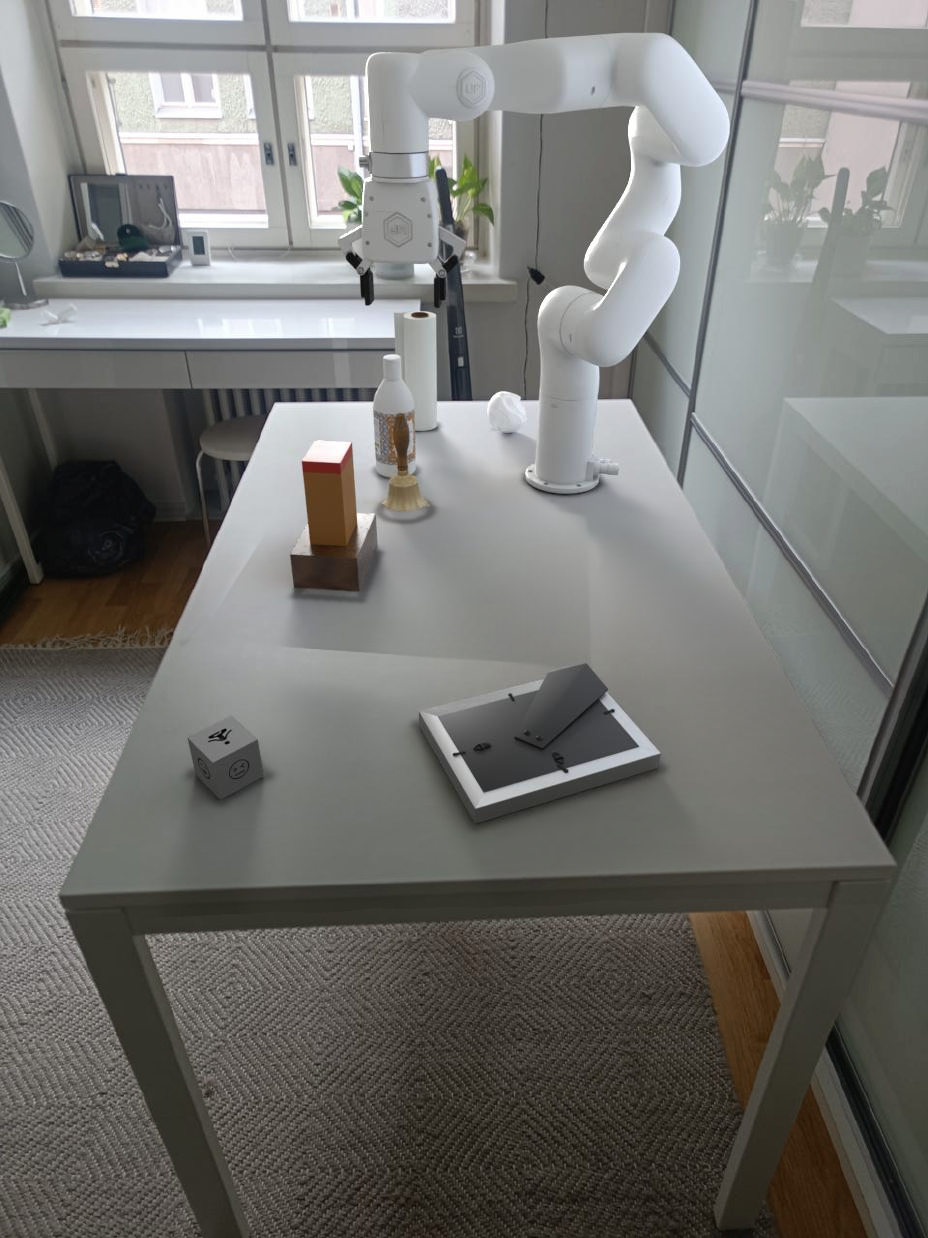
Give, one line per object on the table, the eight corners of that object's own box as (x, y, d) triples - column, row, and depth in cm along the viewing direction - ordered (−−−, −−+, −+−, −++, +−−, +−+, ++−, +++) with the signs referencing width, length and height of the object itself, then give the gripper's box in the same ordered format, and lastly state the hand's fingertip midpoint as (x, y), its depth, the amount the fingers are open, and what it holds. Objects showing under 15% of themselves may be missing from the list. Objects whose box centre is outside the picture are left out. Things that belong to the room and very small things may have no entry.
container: (347, 536, 124) (394, 471, 117) (335, 560, 118) (385, 493, 112) (280, 492, 121) (325, 423, 115) (265, 515, 115) (312, 444, 109)
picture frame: (584, 682, 103) (418, 725, 96) (586, 662, 101) (418, 705, 95) (658, 768, 91) (474, 824, 84) (661, 747, 89) (475, 803, 83)
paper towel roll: (443, 427, 170) (442, 315, 158) (417, 434, 167) (414, 320, 155) (423, 416, 175) (421, 306, 163) (397, 422, 172) (393, 311, 160)
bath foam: (388, 482, 149) (383, 365, 138) (369, 468, 154) (362, 354, 143) (423, 473, 152) (421, 358, 141) (403, 459, 157) (399, 348, 146)
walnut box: (378, 553, 128) (375, 513, 125) (359, 600, 118) (357, 558, 114) (318, 549, 129) (314, 510, 125) (294, 596, 118) (289, 554, 115)
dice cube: (238, 751, 92) (231, 715, 90) (263, 776, 89) (257, 739, 87) (195, 774, 90) (187, 737, 87) (220, 800, 87) (212, 762, 84)
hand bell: (370, 516, 138) (364, 420, 129) (391, 495, 145) (387, 402, 136) (418, 525, 136) (416, 427, 127) (438, 503, 142) (437, 408, 133)
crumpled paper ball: (526, 439, 165) (528, 399, 161) (486, 438, 166) (487, 398, 161) (525, 424, 172) (527, 385, 168) (487, 423, 172) (488, 384, 168)
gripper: (326, 168, 110) (336, 309, 119) (463, 171, 108) (462, 313, 118) (340, 161, 116) (348, 295, 125) (469, 164, 114) (468, 300, 124)
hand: (403, 304), depth 121 cm, fingers open, 9 cm apart
